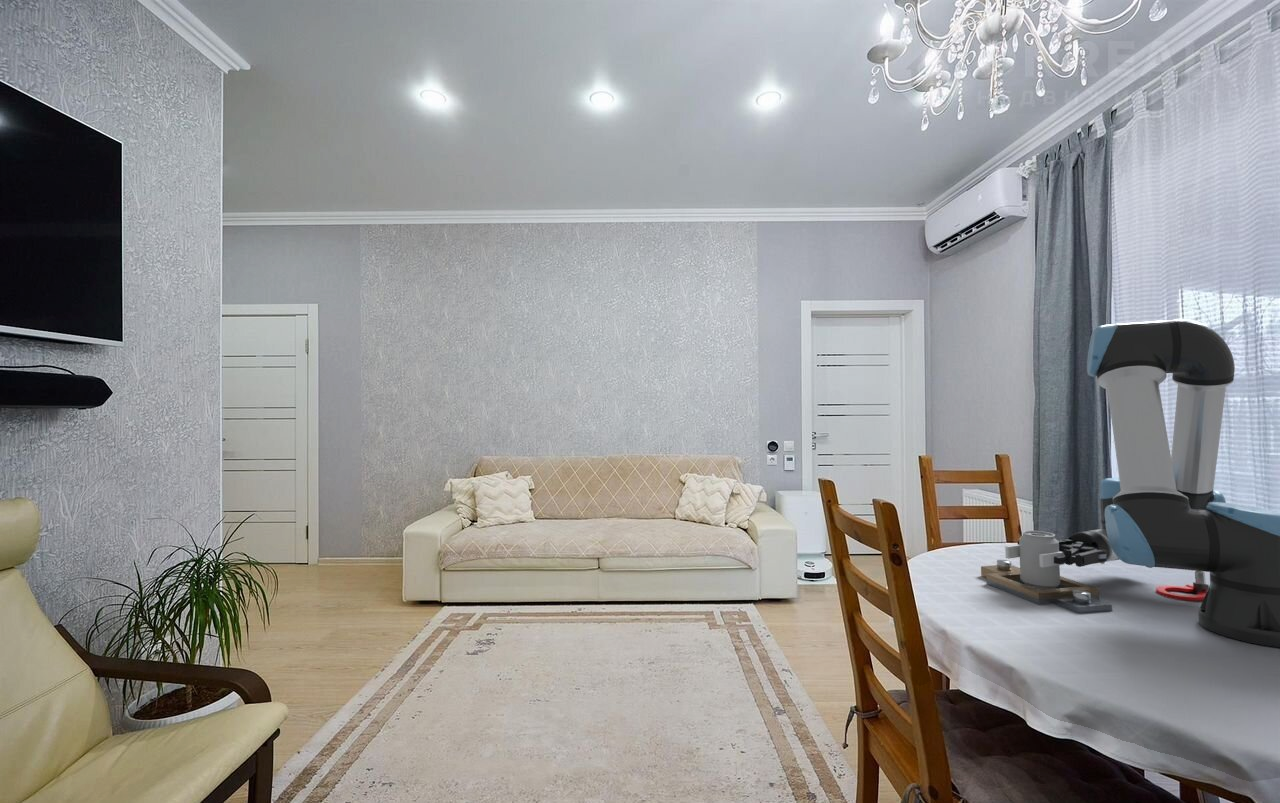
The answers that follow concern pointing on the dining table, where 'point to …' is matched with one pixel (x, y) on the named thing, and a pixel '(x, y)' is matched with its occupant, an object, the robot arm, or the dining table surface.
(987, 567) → the chain end upper
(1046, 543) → the can
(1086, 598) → the chain end lower
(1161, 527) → the robot arm
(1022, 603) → the dining table surface
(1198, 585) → the tow hook
